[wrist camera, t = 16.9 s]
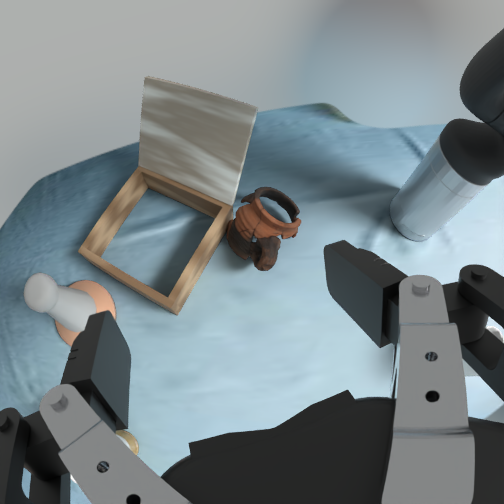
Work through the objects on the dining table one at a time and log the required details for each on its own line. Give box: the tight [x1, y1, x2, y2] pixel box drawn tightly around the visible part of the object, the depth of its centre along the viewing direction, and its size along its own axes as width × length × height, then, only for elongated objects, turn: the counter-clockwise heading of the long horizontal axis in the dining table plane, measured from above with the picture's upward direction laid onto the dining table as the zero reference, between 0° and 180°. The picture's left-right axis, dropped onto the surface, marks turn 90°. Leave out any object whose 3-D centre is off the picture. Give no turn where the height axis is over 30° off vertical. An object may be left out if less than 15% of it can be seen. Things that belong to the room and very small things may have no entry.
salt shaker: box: [24, 272, 97, 332], centre depth 33 cm, size 6×6×13 cm
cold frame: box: [78, 76, 258, 315], centre depth 38 cm, size 22×16×17 cm
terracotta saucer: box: [55, 280, 116, 346], centre depth 40 cm, size 10×10×1 cm
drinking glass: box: [462, 326, 504, 376], centre depth 35 cm, size 7×7×10 cm
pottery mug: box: [227, 187, 301, 271], centre depth 43 cm, size 12×10×8 cm
